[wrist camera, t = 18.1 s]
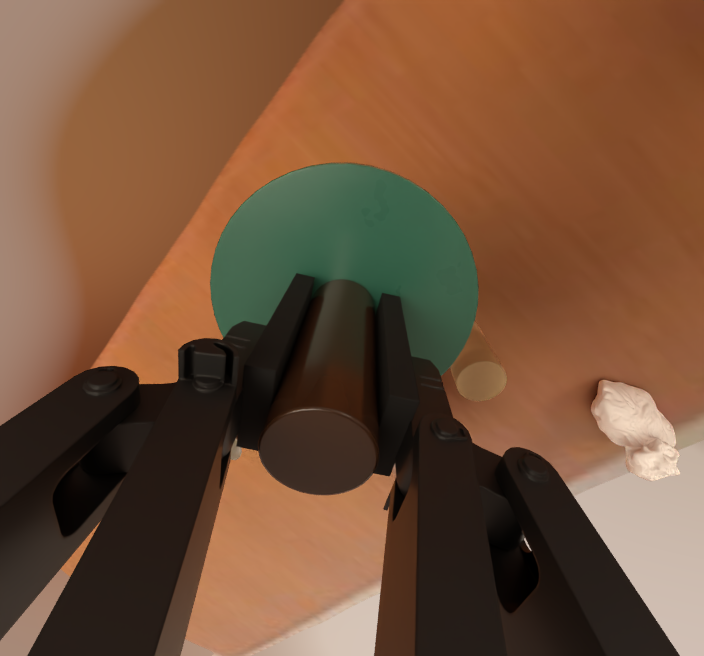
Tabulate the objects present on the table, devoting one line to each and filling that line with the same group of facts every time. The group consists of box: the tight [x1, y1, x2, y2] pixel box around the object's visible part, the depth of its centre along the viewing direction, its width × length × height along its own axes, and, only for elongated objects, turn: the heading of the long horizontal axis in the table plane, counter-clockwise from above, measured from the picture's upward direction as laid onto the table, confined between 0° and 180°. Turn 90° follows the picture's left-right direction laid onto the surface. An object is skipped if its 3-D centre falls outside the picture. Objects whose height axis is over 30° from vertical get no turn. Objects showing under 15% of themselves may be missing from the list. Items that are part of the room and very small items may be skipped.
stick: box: [450, 320, 507, 401], centre depth 30 cm, size 3×3×20 cm
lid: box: [210, 163, 478, 495], centre depth 12 cm, size 11×11×9 cm
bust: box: [591, 380, 680, 481], centre depth 42 cm, size 12×8×11 cm
